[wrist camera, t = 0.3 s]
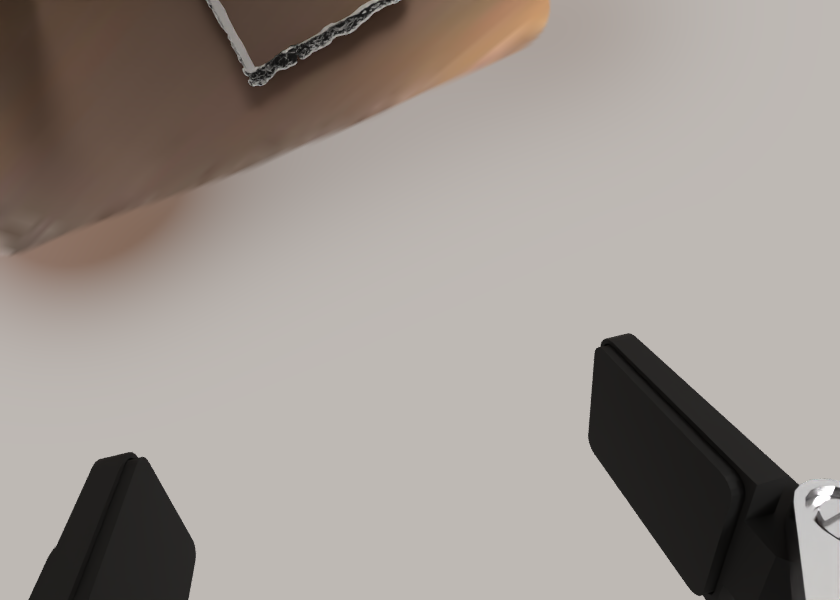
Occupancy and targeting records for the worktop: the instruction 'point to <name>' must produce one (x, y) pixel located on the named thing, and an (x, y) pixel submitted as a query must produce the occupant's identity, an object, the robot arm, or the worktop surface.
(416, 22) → the worktop surface
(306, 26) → the worktop surface
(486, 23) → the worktop surface
